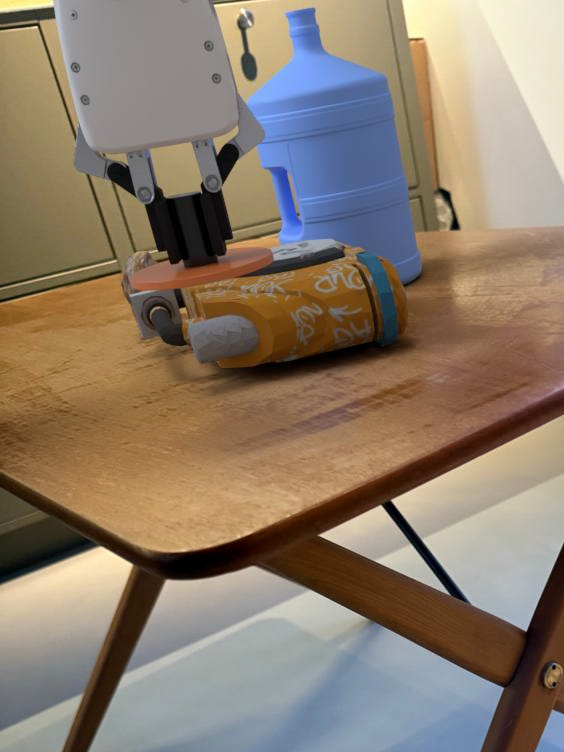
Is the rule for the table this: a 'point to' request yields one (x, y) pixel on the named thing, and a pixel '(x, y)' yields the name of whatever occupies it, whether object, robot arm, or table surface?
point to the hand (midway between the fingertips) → (198, 254)
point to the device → (282, 307)
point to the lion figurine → (132, 266)
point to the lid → (197, 252)
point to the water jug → (335, 152)
